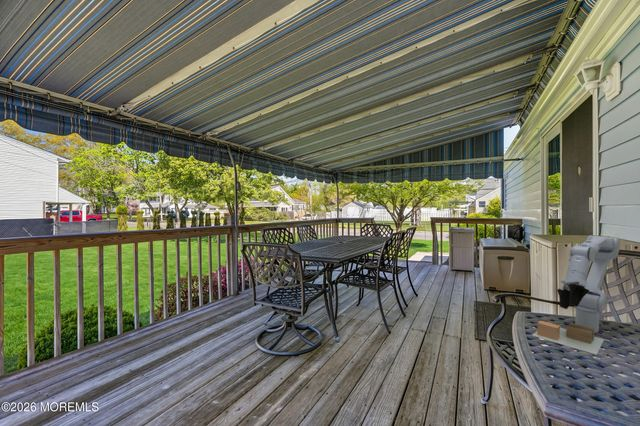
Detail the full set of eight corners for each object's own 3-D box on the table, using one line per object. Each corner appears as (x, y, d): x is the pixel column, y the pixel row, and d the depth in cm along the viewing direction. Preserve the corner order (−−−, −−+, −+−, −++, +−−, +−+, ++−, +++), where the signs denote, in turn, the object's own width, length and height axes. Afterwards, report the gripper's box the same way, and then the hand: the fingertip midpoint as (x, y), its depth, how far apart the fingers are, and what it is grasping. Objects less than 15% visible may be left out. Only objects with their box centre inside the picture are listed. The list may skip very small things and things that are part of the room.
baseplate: (545, 325, 123) (545, 323, 123) (604, 341, 109) (604, 339, 109) (531, 337, 110) (531, 335, 110) (596, 356, 96) (596, 354, 96)
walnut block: (569, 332, 114) (570, 322, 114) (593, 339, 109) (594, 328, 109) (565, 337, 110) (566, 326, 110) (590, 344, 104) (591, 333, 104)
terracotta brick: (540, 331, 114) (540, 320, 114) (559, 337, 109) (560, 325, 109) (537, 334, 111) (537, 322, 111) (556, 340, 107) (557, 328, 107)
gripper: (556, 274, 119) (547, 304, 116) (573, 265, 107) (564, 298, 103) (576, 281, 117) (568, 312, 113) (597, 273, 104) (589, 308, 100)
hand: (568, 306), depth 108 cm, fingers open, 7 cm apart
